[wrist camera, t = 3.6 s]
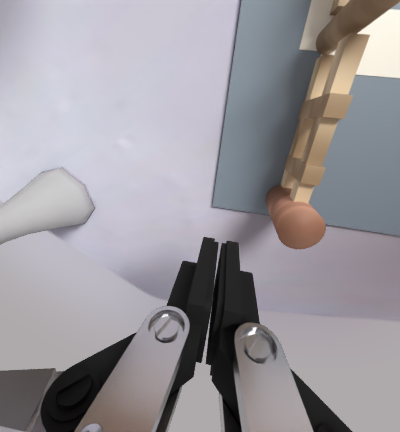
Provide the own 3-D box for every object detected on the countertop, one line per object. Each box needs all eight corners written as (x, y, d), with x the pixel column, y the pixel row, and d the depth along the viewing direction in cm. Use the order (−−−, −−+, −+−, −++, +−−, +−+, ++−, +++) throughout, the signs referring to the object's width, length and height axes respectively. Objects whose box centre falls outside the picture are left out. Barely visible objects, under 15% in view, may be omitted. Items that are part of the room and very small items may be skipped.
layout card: (293, -362, 9) (295, -379, 9) (910, -437, 7) (941, -464, 7) (212, 205, 21) (212, 206, 21) (428, 239, 19) (431, 241, 19)
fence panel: (302, 58, 14) (344, 16, 9) (345, 61, 14) (417, 21, 9) (262, 211, 20) (272, 245, 14) (292, 215, 19) (316, 252, 14)
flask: (106, 209, 24) (27, 262, 15) (68, 233, 26) (-19, 290, 17) (63, 155, 21) (-59, 177, 13) (26, 185, 24) (-98, 222, 15)
